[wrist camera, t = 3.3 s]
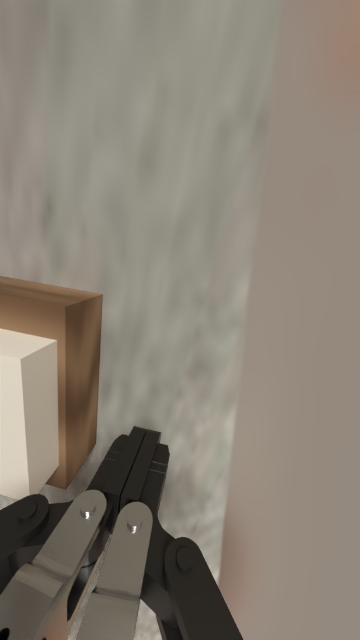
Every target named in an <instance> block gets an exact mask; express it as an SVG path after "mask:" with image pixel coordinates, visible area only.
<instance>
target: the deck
mask: <svg viewBox="0 0 360 640" xmlns="http://www.w3.org/2000/svg"><path fill="white" fill-rule="evenodd" d="M101 316H102V294H96V293H91V292H85V291H79V290H74V289H68V288H63V287H57V286H51V285H46V284H40V283H35V282H29V281H23V280H18V279H12V278H7V277H1V276H0V329H5V330H10V331H14V332H19V333H24V334H29V335H34V336H39V337H43V338H48V339H53V340H57V378H58V442H59V466H58V467H57V469H56V470H55V471H54V473H53V474H52V475H51V476H50V478H49V479H48V480H47V482H46V483H45V484H48V485H52V486H55V487H59V488H62V489H67V487H68V486H69V484H70V482H71V481H72V479H73V478H74V476H75V475H76V473H77V472H78V470H79V469H80V467H81V465H82V464H83V462H84V461H85V459H86V458H87V456H88V455H89V453H90V452H91V450H92V449H93V447H94V445H95V444H96V428H97V406H98V383H99V361H100V338H101Z"/></svg>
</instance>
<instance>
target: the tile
mask: <svg viewBox="0 0 360 640" xmlns="http://www.w3.org/2000/svg"><path fill="white" fill-rule="evenodd" d="M58 466H59V442H58V378H57V340H53V339H48V338H43V337H39V336H34V335H29V334H24V333H19V332H14V331H10V330H5V329H0V494H1V495H4V496H7V497H11V498H14V499H17V500H20V499H22V498H24V497H26V496H29V495H33V494H38V492H39V491H40V490H41V488H42V487H43V486H44V484H45V483H46V482H47V480H48V479H49V478H50V476H51V475H52V474H53V473H54V471H55V470H56V469H57V467H58Z"/></svg>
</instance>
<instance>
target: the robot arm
mask: <svg viewBox="0 0 360 640" xmlns="http://www.w3.org/2000/svg"><path fill="white" fill-rule="evenodd" d="M160 437H161V432H157V431H153V430H149V429H148V430H147V429H144V428H140V427H136V426H134V427H133V429H132V431H131V433H130V435H129V436H127V435H123V434H122V435H121V436H119V437H118V438H117V439H116V440H115V441H114V442H113V444H112V446H111V447H110V449H109V451H108V453H107V455H106V456H105V459H104V460H103V462H102V463H101V465H100V467H99V469H98V471H97V472H96V474H95V476H94V478H93V480H92V481H91V483H90V485H89V487H88V488H87V490H86V491H85V492H83V493H81V494H80V495H78V496H77V497H76V498H75V500H73V501H70V502H65V503H56V504H49V503H48V500H47V498H46V497H45V496H43V495H41V494H33V495H29V496H26V497H24V498H22V499H20V500H18V501H17V502H15V503H13V504H11V505H9V506H7V507H5V508H3V509H2V510H0V640H67V638H68V635H69V631H70V629H71V626H72V623H73V621H74V619H75V616H76V614H77V612H78V610H79V607H80V605H81V603H82V601H83V598H84V596H85V594H86V592H87V589H88V587H89V585H90V583H91V580H92V578H93V576H94V574H95V571H96V569H97V567H98V565H99V562H100V560H101V558H102V555H103V550H104V547H105V545H106V542H107V539H108V537H109V534H112V537H111V540H110V543H109V547H108V550H107V553H106V556H105V559H104V563H103V566H102V569H101V572H100V576H99V579H98V582H97V585H96V587H95V589H93V591H92V593H91V596H90V598H89V601H88V604H87V607H86V610H85V613H84V616H83V620H82V623H81V626H80V629H79V632H78V635H77V638H76V640H133V639H134V633H135V628H136V622H137V616H138V610H139V604H140V598H141V599H142V600H143V601H144V602H145V603H146V604H147V605H148V606H149V607H150V608H151V609H152V610H153V611H154V612H155V613H156V618H157V622H158V625H159V629H160V633H161V636H162V640H243V638H242V636H241V634H240V632H239V630H238V628H237V626H236V624H235V622H234V619H233V617H232V615H231V613H230V611H229V609H228V607H227V605H226V603H225V601H224V599H223V597H222V594H221V592H220V590H219V588H218V586H217V584H216V582H215V580H214V578H213V576H212V573H211V571H210V569H209V567H208V565H207V563H206V561H205V559H204V557H203V555H202V553H201V551H200V549H199V547H198V546H197V544H196V543H195V542H194V541H192V540H191V539H189V538H185V537H180V538H177V539H175V538H173V537H172V536H171V535H170V534H168V533H167V532H166V531H165V530H164V529H163V528H162V526H161V525H160V523H159V520H158V517H157V514H158V510H159V505H160V501H161V496H162V492H163V487H164V483H165V479H166V474H167V468H168V462H169V456H170V454H169V449H168V445H164V444H160Z"/></svg>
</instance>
